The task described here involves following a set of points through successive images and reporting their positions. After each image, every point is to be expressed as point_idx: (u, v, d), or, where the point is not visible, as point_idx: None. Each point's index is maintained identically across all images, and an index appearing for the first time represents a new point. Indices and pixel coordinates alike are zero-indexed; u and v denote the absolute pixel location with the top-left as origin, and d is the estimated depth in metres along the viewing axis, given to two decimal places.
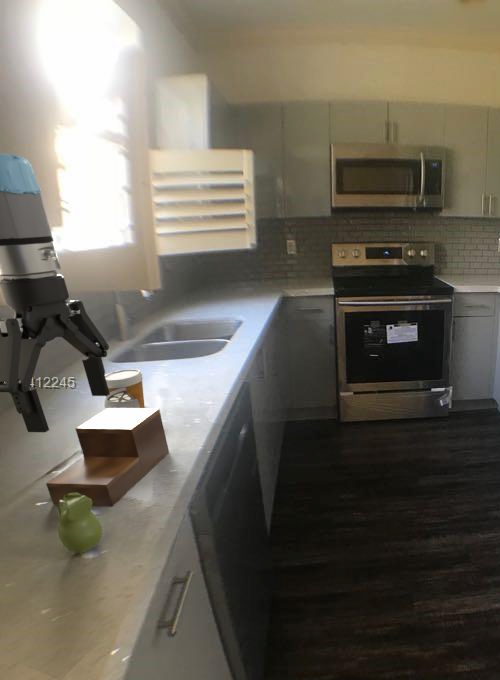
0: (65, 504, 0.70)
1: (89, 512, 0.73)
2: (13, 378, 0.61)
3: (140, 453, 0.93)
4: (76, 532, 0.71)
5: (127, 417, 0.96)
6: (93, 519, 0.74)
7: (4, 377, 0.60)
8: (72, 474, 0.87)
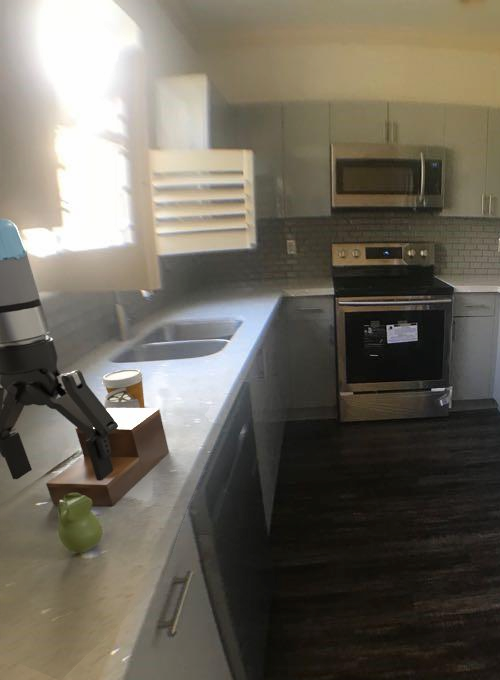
0: (65, 504, 0.70)
1: (89, 512, 0.73)
2: None
3: (140, 453, 0.93)
4: (76, 532, 0.71)
5: (127, 417, 0.96)
6: (93, 519, 0.74)
7: None
8: (72, 474, 0.87)
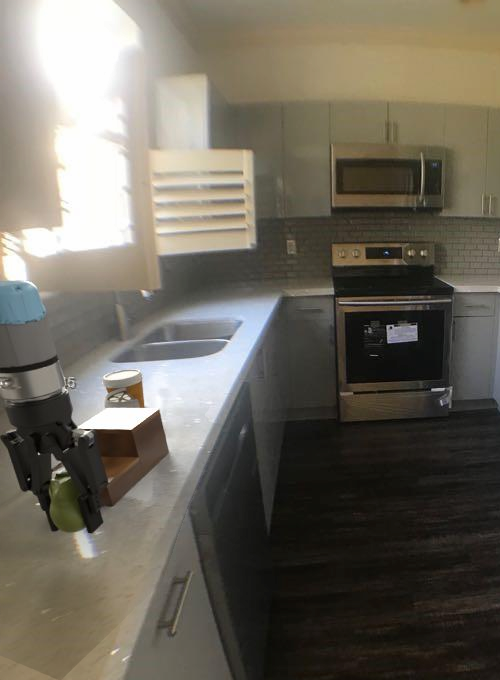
0: (57, 483, 0.69)
1: None
2: (21, 481, 0.69)
3: (140, 453, 0.93)
4: (68, 511, 0.70)
5: (127, 417, 0.96)
6: None
7: None
8: None
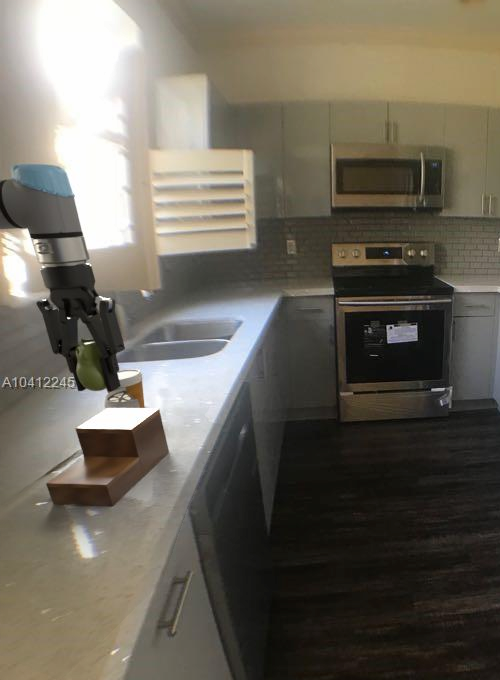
0: (82, 344, 0.83)
1: None
2: (53, 344, 0.84)
3: (140, 453, 0.93)
4: (91, 370, 0.84)
5: (127, 417, 0.96)
6: None
7: None
8: (72, 474, 0.87)
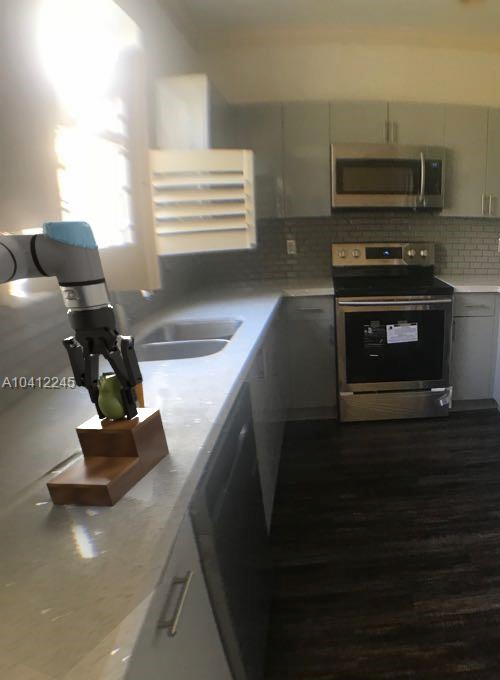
0: (104, 378, 0.91)
1: (121, 388, 0.94)
2: (77, 378, 0.92)
3: (140, 453, 0.93)
4: (112, 401, 0.92)
5: None
6: None
7: None
8: (72, 474, 0.87)
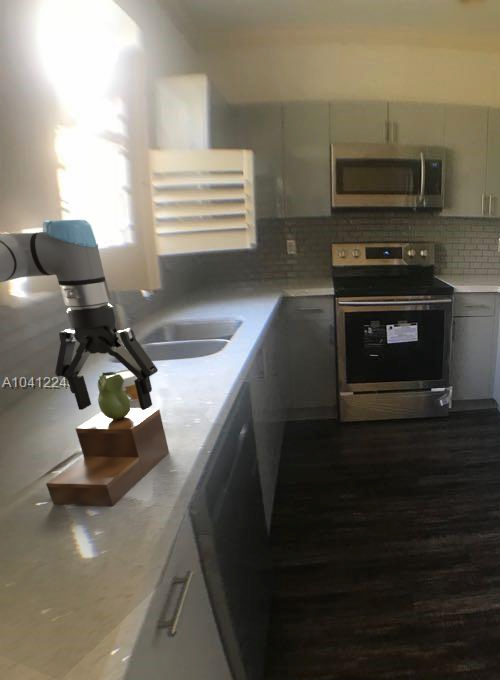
0: (104, 378, 0.91)
1: (121, 388, 0.94)
2: (58, 368, 0.91)
3: (140, 453, 0.93)
4: (112, 401, 0.92)
5: (127, 417, 0.96)
6: (124, 394, 0.95)
7: None
8: (72, 474, 0.87)
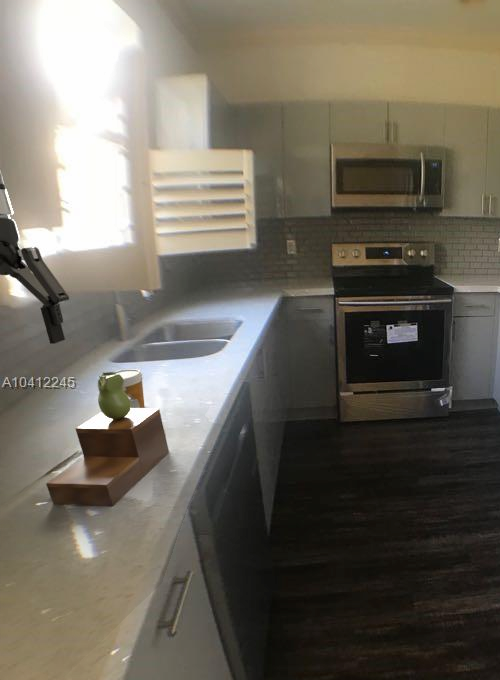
0: (104, 378, 0.91)
1: (121, 388, 0.94)
2: None
3: (140, 453, 0.93)
4: (112, 401, 0.92)
5: (127, 417, 0.96)
6: (124, 394, 0.95)
7: None
8: (72, 474, 0.87)
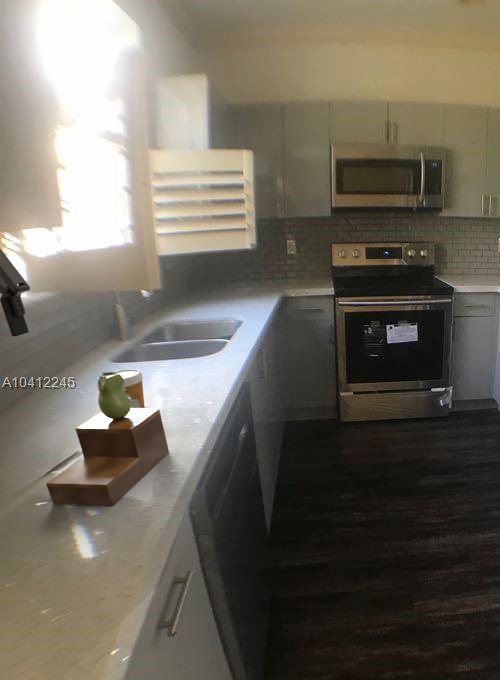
0: (104, 378, 0.91)
1: (121, 388, 0.94)
2: None
3: (140, 453, 0.93)
4: (112, 401, 0.92)
5: (127, 417, 0.96)
6: (124, 394, 0.95)
7: None
8: (72, 474, 0.87)
